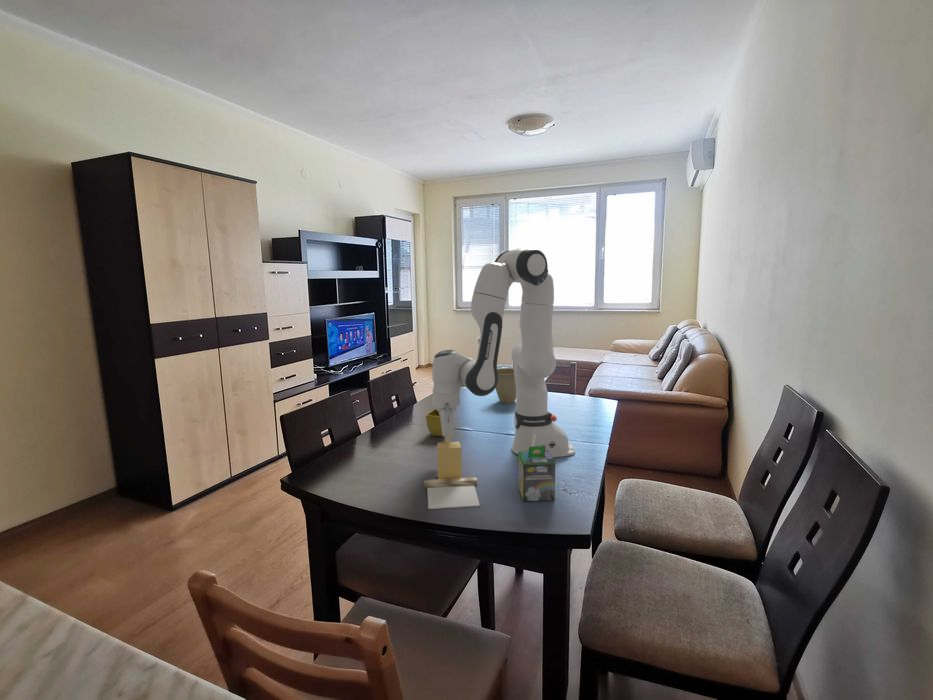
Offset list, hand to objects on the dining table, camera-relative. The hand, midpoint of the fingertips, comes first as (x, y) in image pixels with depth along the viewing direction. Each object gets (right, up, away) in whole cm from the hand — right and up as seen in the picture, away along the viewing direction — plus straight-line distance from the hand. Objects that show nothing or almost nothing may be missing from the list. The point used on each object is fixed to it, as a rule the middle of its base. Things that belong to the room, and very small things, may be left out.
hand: (446, 440), depth 147 cm
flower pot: (-4, -4, +31) cm, 32 cm away
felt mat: (+2, -12, -21) cm, 24 cm away
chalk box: (+26, -12, -19) cm, 35 cm away
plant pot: (+27, +3, +78) cm, 83 cm away
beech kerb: (+2, -11, -13) cm, 17 cm away
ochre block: (+1, -10, -9) cm, 14 cm away
